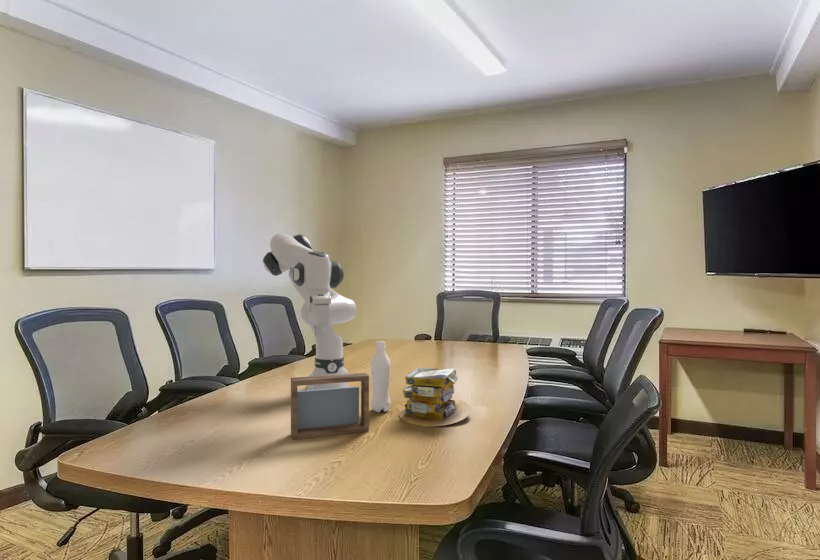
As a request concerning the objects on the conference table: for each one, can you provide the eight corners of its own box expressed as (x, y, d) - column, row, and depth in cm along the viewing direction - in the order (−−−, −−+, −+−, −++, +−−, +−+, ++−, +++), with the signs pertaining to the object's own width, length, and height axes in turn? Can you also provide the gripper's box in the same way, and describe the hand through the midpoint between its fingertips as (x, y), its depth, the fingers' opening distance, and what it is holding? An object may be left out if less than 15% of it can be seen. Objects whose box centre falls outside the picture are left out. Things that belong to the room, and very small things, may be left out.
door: (295, 429, 157) (295, 391, 157) (357, 422, 164) (357, 386, 164) (296, 430, 155) (296, 392, 155) (358, 424, 162) (359, 387, 162)
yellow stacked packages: (440, 432, 158) (440, 379, 157) (384, 416, 175) (384, 368, 174) (484, 415, 176) (484, 368, 176) (430, 402, 193) (430, 359, 192)
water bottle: (393, 408, 184) (393, 340, 183) (386, 414, 177) (386, 343, 177) (375, 406, 186) (375, 339, 186) (367, 412, 179) (367, 342, 179)
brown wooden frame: (290, 434, 155) (290, 377, 154) (365, 426, 163) (365, 372, 162) (292, 439, 150) (292, 380, 150) (368, 430, 159) (368, 375, 158)
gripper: (304, 296, 186) (304, 333, 186) (313, 299, 166) (313, 341, 167) (321, 296, 188) (321, 332, 188) (332, 299, 169) (332, 340, 169)
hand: (317, 336), depth 177 cm, fingers closed
